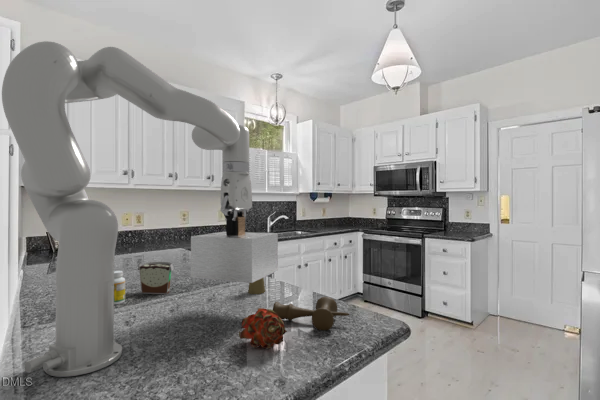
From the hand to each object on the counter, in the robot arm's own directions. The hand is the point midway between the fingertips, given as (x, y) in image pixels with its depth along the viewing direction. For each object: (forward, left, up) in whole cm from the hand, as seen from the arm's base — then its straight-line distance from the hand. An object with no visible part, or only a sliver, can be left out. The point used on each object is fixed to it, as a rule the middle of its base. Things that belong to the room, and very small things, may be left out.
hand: (236, 233), depth 91 cm
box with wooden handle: (0, 0, -11) cm, 11 cm away
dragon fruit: (-16, -16, -23) cm, 32 cm away
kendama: (+1, -22, -23) cm, 32 cm away
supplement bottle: (-4, +41, -23) cm, 47 cm away
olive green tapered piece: (+22, +5, -23) cm, 32 cm away
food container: (+11, +38, -23) cm, 46 cm away
